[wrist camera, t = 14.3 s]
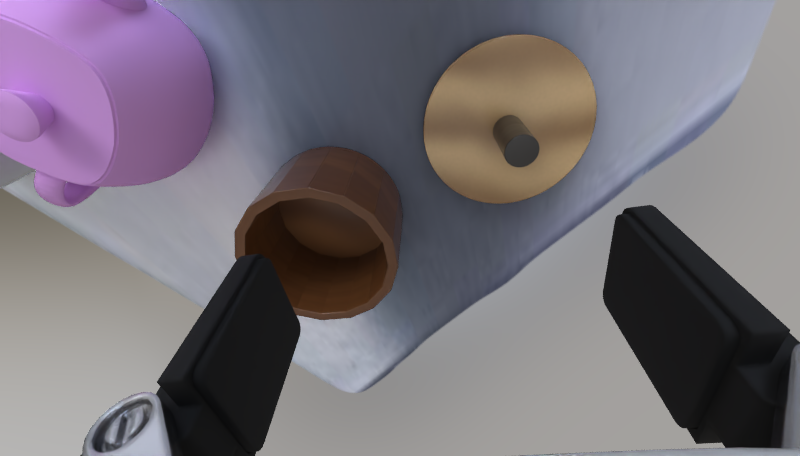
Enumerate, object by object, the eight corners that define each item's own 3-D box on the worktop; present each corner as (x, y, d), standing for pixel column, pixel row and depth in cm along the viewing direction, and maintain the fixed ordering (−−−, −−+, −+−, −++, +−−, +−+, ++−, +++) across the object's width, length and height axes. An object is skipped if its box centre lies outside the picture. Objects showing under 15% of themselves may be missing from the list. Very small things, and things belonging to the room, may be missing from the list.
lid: (412, 50, 28) (410, 62, 23) (600, 17, 26) (645, 22, 21) (432, 205, 35) (434, 242, 30) (582, 188, 33) (612, 223, 28)
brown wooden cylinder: (253, 156, 33) (206, 200, 26) (389, 136, 32) (379, 178, 24) (295, 265, 40) (268, 324, 33) (410, 254, 38) (408, 313, 31)
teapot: (205, 197, 36) (121, 274, 26) (57, 134, 33) (-100, 192, 23) (260, -25, 26) (159, -39, 16) (56, -141, 23) (-220, -246, 13)
